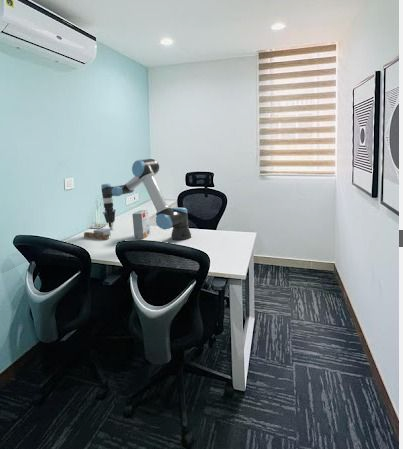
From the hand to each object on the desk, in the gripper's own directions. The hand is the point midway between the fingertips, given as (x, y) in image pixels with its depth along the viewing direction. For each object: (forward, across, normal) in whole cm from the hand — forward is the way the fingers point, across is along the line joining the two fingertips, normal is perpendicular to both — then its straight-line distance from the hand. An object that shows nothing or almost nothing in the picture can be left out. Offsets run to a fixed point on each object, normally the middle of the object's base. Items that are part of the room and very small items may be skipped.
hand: (111, 230), depth 280 cm
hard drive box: (+3, +2, +34) cm, 34 cm away
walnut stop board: (+2, +18, 0) cm, 18 cm away
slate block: (+2, +12, +1) cm, 12 cm away
